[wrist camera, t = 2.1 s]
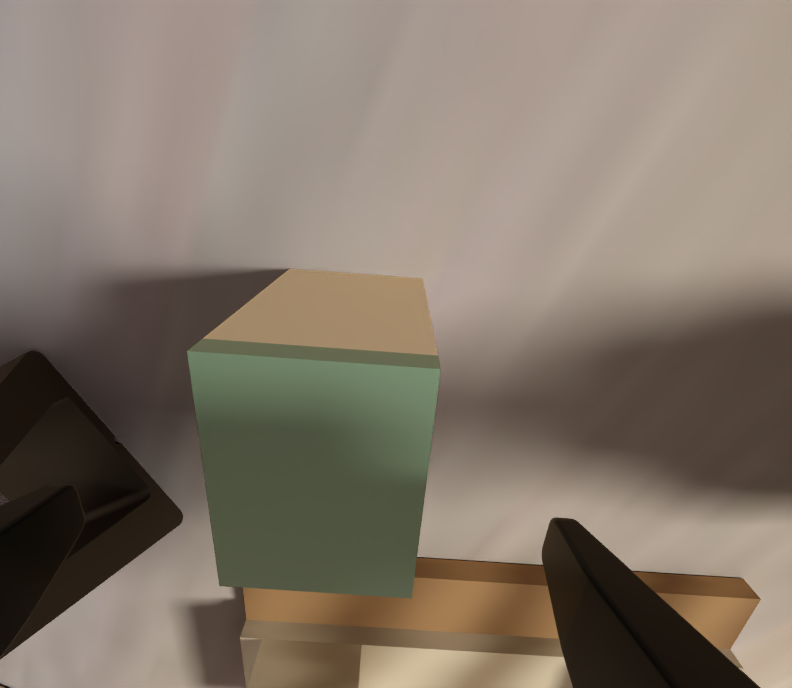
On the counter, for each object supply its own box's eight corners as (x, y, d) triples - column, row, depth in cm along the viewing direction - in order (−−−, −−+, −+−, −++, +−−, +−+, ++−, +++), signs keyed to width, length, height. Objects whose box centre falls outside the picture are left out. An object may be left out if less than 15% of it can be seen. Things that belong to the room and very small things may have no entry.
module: (422, 278, 14) (440, 369, 7) (408, 427, 16) (411, 598, 9) (290, 268, 14) (186, 350, 7) (294, 419, 16) (219, 586, 9)
